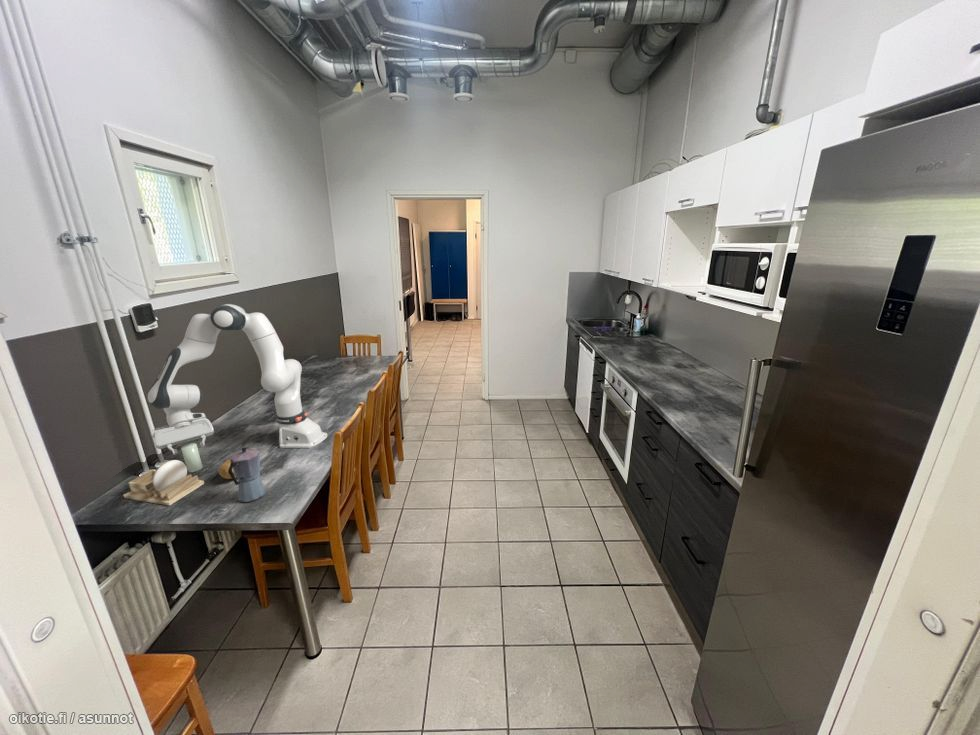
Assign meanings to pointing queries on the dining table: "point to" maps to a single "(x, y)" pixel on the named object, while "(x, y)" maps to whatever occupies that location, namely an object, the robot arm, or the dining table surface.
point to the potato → (226, 470)
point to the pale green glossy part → (191, 457)
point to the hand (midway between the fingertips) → (189, 449)
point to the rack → (163, 484)
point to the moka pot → (247, 474)
